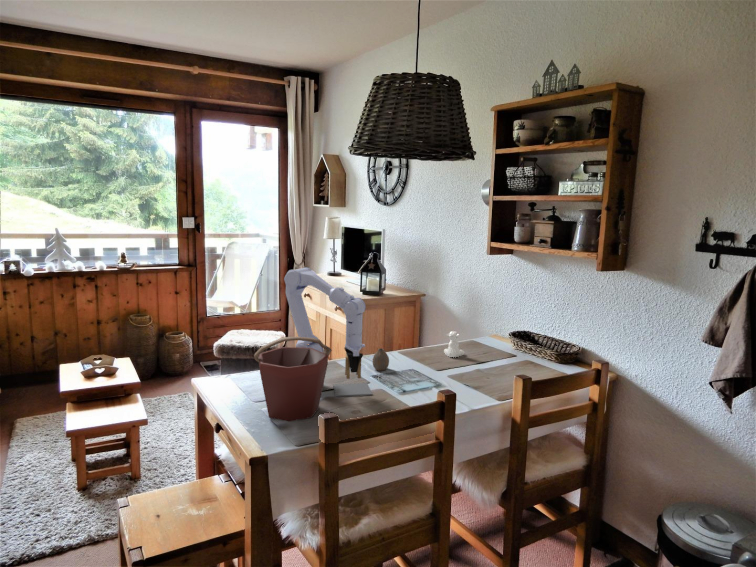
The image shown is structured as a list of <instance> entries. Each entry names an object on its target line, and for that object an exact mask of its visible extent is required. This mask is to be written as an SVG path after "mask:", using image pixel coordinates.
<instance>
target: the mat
mask: <svg viewBox="0 0 756 567" xmlns="http://www.w3.org/2000/svg"><path fill="white" fill-rule="evenodd" d="M332 387H333V390H334V395H335V397H336V398H341V397H342V398H343V397H364V396H365V397H367V396H366V395H370V396H373V393H372V391H371V388H370V386H369V384H368V382H359V383H358V382H357V383H355V382H354V383H334V384H332Z"/></svg>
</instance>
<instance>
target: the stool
mask: <svg viewBox="0 0 756 567" xmlns="http://www.w3.org/2000/svg"><path fill="white" fill-rule="evenodd" d="M344 360H345V365H344V366H345V367H344V368H345V369H344V375H345V376H346V379H347V380H350V375H351V374H350V373H351V370H350V363H349V359H348V356H347V354H346V353H345V359H344ZM355 375H356V376H357V379H361V378H362V359H361V360H360V363H359V366H358V370H357V372H355Z"/></svg>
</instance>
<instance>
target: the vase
mask: <svg viewBox="0 0 756 567" xmlns="http://www.w3.org/2000/svg"><path fill="white" fill-rule="evenodd" d="M389 365H390V358H389V355H388V354H387V352H386V351H385V349H384V348H378V349H377V351H376V352H375V353H374V355H373V357H372V366H373V368H374V369H375V370H376V371H377V370H378V372H385V371H386V370H387V369H388V368H389Z"/></svg>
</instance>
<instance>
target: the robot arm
mask: <svg viewBox="0 0 756 567" xmlns="http://www.w3.org/2000/svg"><path fill="white" fill-rule="evenodd" d="M283 281H284V283H285V296H286V300H287V303H288V306H289V309H290V314H291V317H292V320H293V324H294V327H295V330H296V333H297V337H308V338H315V339H319V337H317V336H316V335H314V334H313V330H312V327H311V326H312V325H311V323H310V319H309V316H308V313H307V310H306V306H305V302H304V299H303V292H304V290H305V289H306V288H307V287H308V286H310V287H311V286H312V287H313V288H315V289H316V290H319V291H321V292H322V293H323V294H325V295H326V296H328V298H329V302H331V303H333V304H334V305H335V306H338V308H340V309H341V310H342V311H343V314H344V315H345V321H346V322H345V345H344V348H343V349H344V351H345V355H346V354H347V356H348V359H349V363H350V373H356V372H357V370H358V366H359V363H360V360H361V361H362V358H363V356H364V355H363V354H364V353H360V350H362V348H365V347H366V345H365V343H362V342H363V340H362V339H363V318H364V316H363V314H364V313H365V311H366V307H367V305H366V303H365V301H364V300H363V299H362V297H355V296H354V295H353V294H350V293H348V292H347V291H345V288H344V287H338V286H336V287H334V286H332V285H331V284H329V283H328V282H327V281H326V280H325V279H323V278H322V277H320V276H319V275H318V274H317V273H316V271H314V270H312V269H311V268H309V267H301V268H297V269H289V270H288V271H287V272H286V274H285V276H284V278H283ZM295 347H303V348H313V349H315V350H318V351H320V352H323V351H324V348H322V347H321V346H320V345H319V343H315V342H310V341H302V340H297V342H296V344H295Z"/></svg>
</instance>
